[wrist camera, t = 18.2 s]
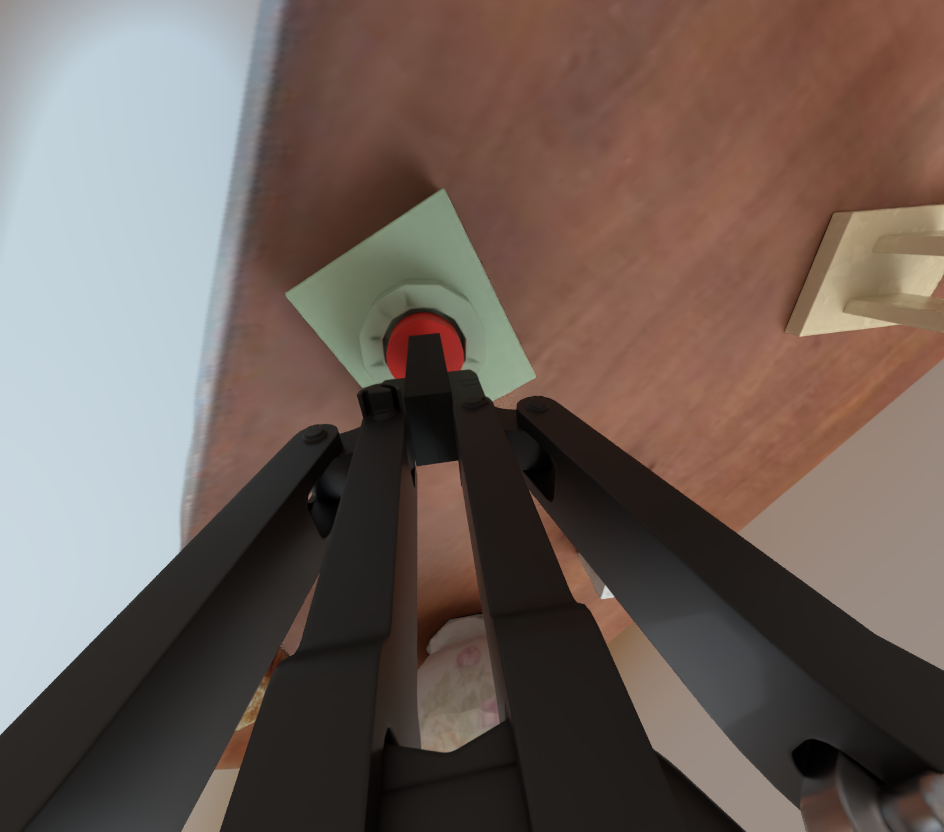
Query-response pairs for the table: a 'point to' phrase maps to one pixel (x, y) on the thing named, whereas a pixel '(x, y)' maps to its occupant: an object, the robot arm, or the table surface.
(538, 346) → the table surface
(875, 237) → the cream lever bracket
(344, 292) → the button block
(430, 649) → the ceramic pitcher
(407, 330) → the button
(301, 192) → the table surface
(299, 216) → the table surface
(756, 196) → the table surface
